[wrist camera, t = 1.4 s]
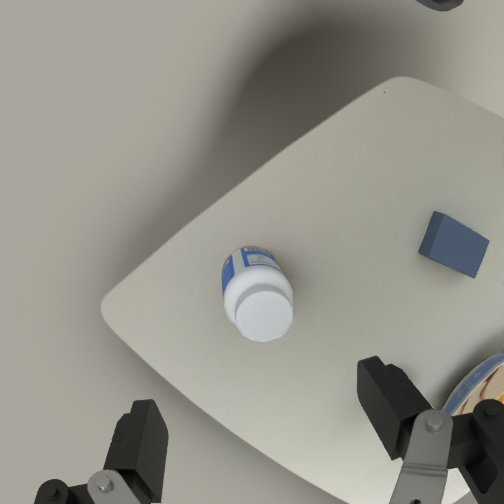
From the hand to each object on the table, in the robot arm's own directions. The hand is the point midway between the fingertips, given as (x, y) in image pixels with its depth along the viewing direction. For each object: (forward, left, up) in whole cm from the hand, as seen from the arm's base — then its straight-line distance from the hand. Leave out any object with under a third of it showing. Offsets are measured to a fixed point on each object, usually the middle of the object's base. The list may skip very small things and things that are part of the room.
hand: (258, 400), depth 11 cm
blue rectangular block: (-17, +19, -20) cm, 32 cm away
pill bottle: (0, +2, -20) cm, 20 cm away
